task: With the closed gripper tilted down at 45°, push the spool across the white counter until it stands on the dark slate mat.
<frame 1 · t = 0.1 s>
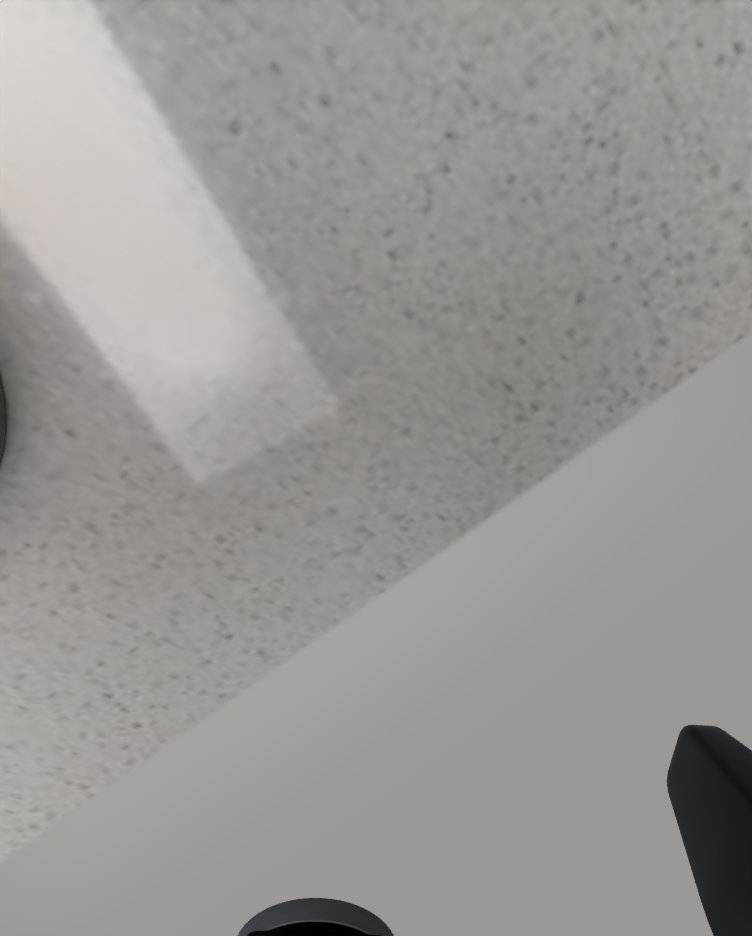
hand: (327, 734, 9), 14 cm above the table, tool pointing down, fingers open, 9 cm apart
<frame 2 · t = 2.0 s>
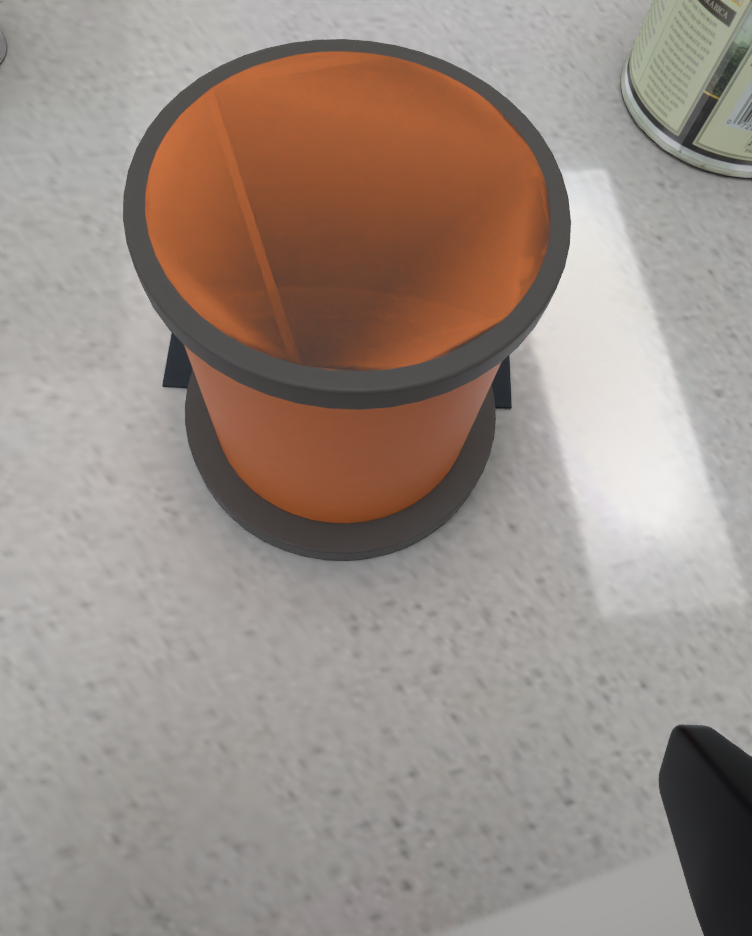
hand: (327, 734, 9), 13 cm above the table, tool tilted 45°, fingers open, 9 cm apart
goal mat: (348, 257, 28), on the table
spool: (342, 414, 25), on the table, touching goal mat
coffee can: (719, 102, 33), on the table
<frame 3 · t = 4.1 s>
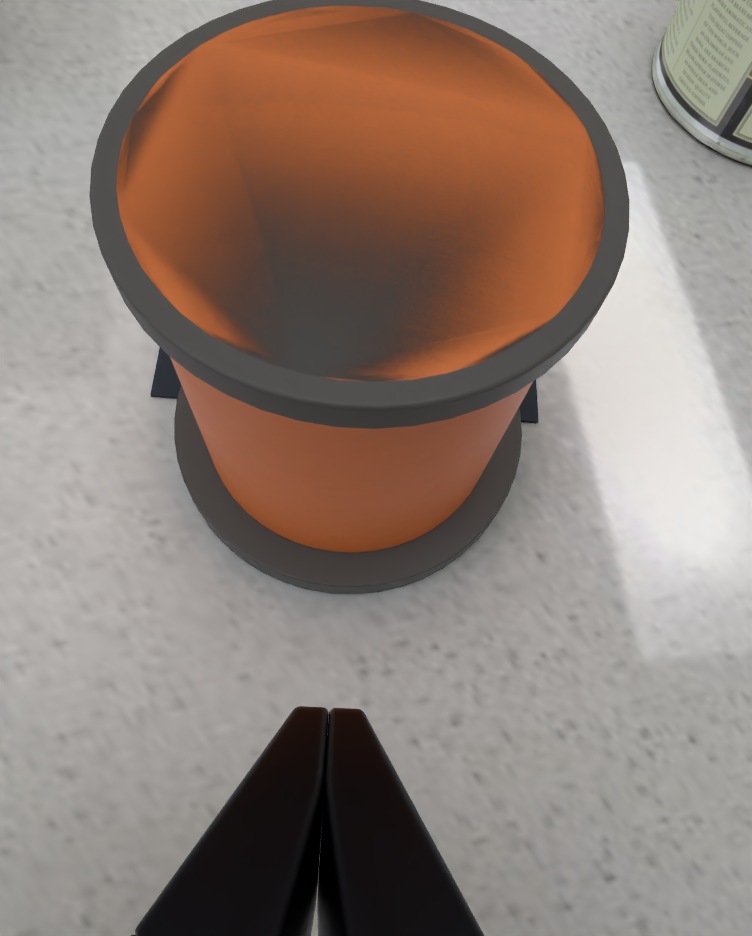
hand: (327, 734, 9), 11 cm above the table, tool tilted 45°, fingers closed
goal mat: (356, 256, 26), on the table
spool: (349, 428, 23), on the table, touching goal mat
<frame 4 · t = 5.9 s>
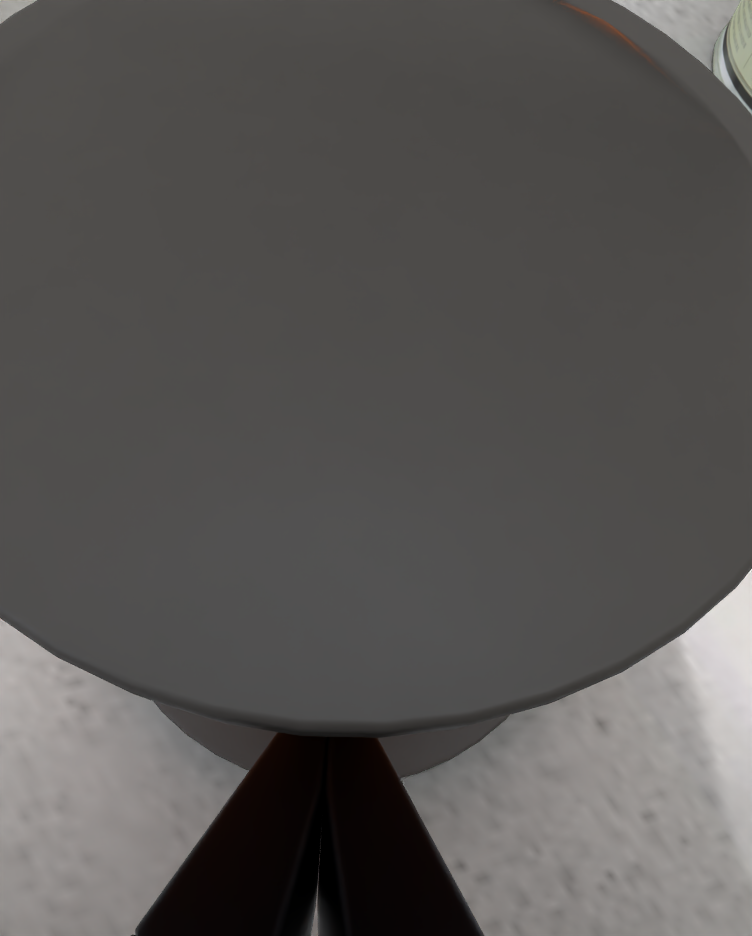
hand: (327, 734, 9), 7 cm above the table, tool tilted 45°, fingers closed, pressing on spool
spool: (342, 541, 17), on the table, touching gripper
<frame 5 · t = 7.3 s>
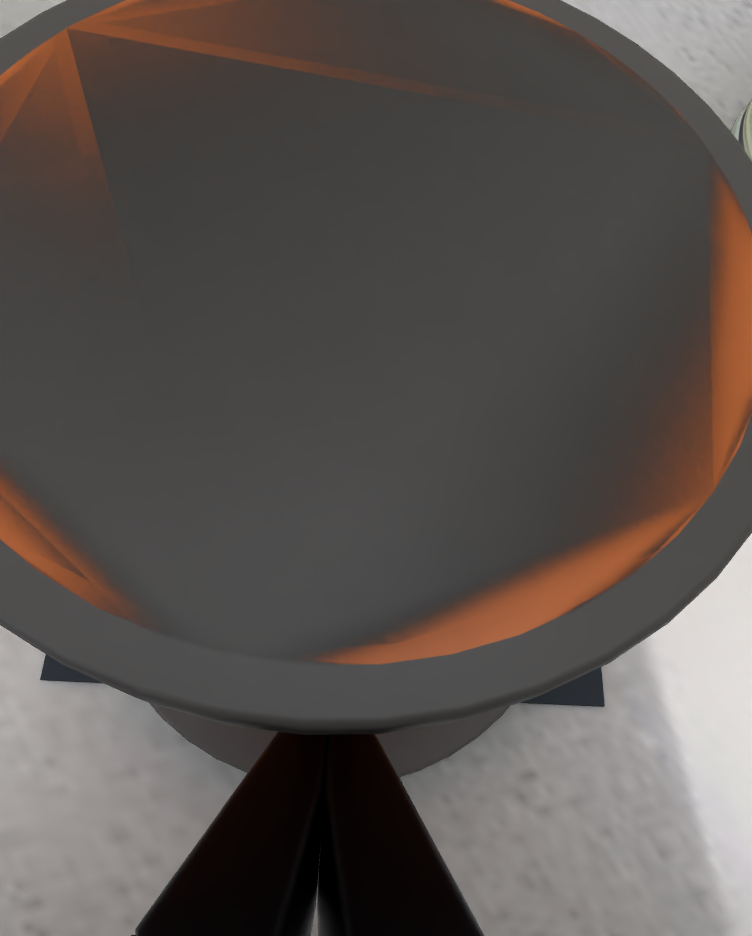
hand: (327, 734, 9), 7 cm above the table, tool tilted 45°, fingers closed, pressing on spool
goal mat: (343, 441, 18), on the table
spool: (336, 544, 17), resting on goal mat, touching gripper
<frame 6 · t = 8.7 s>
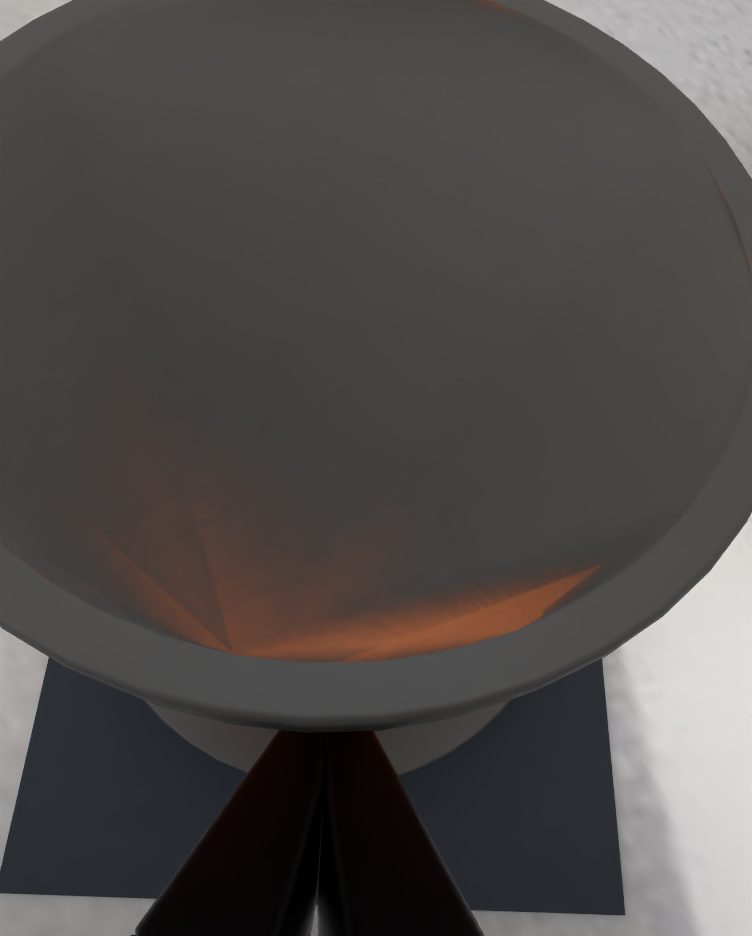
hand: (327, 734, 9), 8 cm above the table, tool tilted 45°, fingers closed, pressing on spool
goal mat: (336, 594, 17), on the table
spool: (333, 545, 17), resting on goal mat, touching gripper
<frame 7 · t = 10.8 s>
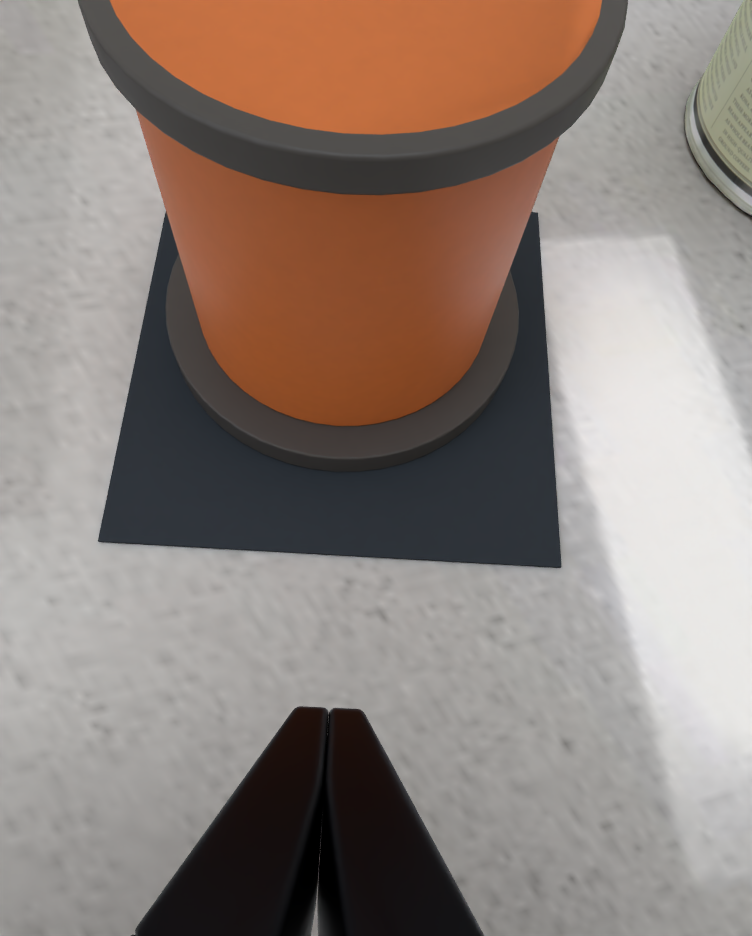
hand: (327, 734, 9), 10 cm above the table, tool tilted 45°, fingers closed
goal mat: (346, 357, 22), on the table
spool: (344, 316, 22), resting on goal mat
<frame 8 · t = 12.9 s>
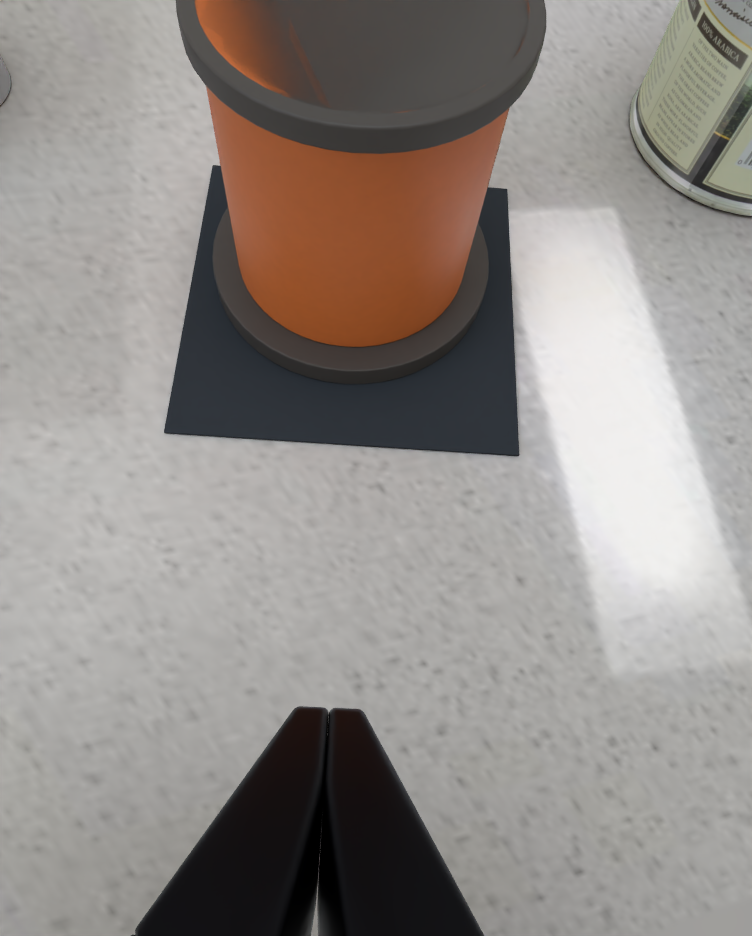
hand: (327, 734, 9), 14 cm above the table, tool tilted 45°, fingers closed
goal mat: (353, 299, 28), on the table
spool: (351, 268, 28), resting on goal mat
coffee can: (729, 139, 33), on the table
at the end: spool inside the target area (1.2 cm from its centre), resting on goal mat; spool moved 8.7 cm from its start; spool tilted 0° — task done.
